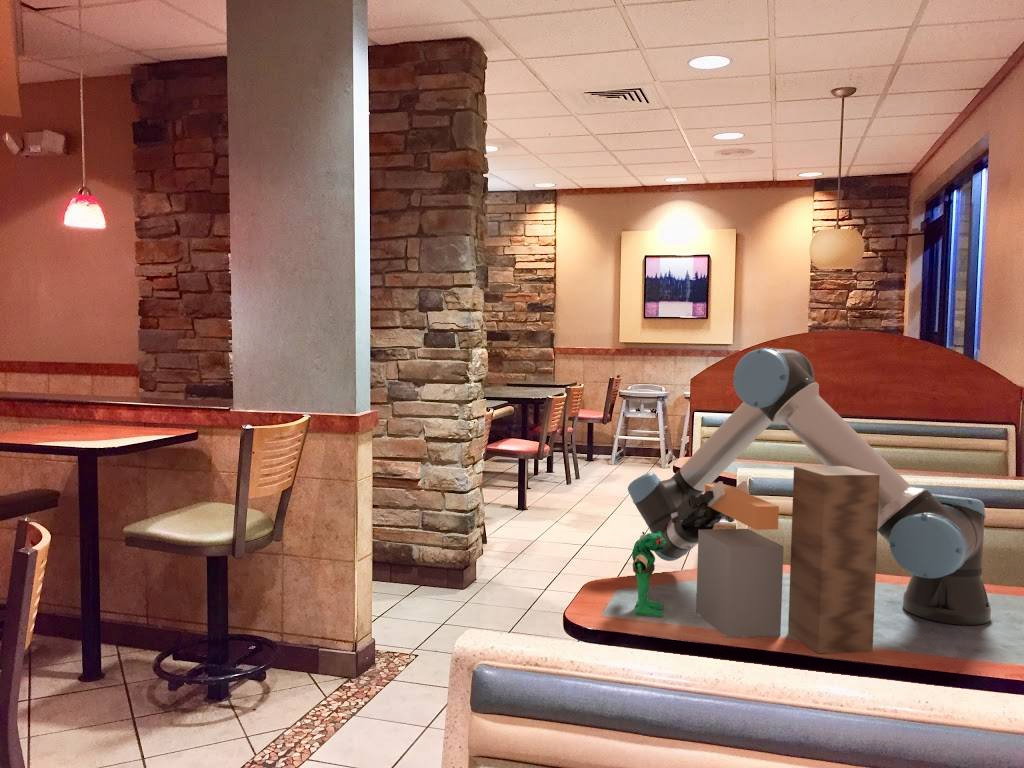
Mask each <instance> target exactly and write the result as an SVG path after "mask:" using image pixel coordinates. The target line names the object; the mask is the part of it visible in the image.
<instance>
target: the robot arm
mask: <svg viewBox="0 0 1024 768" xmlns="http://www.w3.org/2000/svg"><path fill="white" fill-rule="evenodd" d="M732 384H733V389H734V391H735V393H736V395H737V397H739V399H740V400H741V401H742V403H741V404H740V405H739V406H738V407H737V408H736V409H735V410H734V412H732V413H731V415H730V416H729V417H728V418H726V420H725V421H724V422H722V424H721V425H720V426H719V427H718V428H717V429H716V430H715V431H714V432H713V433H712V434H711V435H710V436H709V438H707V440H705V442H704V443H703V444H702V445H701V446H700V447H699V448H698V449H697V450H696V451H695V452H694V453H693V454H692V455H691V457H689V459H687V461H685V463H684V464H682V466H681V467H680V469H678V470H676V472H675V473H674V474H673V475H672V476H671V477H670V478H668V479H665V480H661V478H660V477H658V476H657V474H656V473H655V472H652V471H651V472H646V473H644V474H642V475H641V476H638V477H637V478H635V479H633V481H631V482H630V483H629V485H628V486H627V491H628V494H629V495H630V498H631V500H632V503H633V504H634V505H635V507H636V509H637V511H638V512H639V514H640V516H641V517H642V519H643V520H644V522H645V524H646V525H647V527H648V528H649V529H648V530H649V531H650V533H657V532H658V531H660V532H661V533H662V538H663V539H664V540H665V541H666V542H667V543H666V544H665V545H664V546H662V547H663V548H664V550H665V551H664V552H655V551H653V552H654V553H655V554H656V556H657V557H658V558H660V559H661V560H663V561H666V562H674V561H677V560H679V559H680V558H682V557H684V556H685V555H687V554H688V552H690V551H691V550H692V549H693V548H695V547H696V546H698V531H699V530H708V529H714V527H715V525H716V524H719V523H720V522H721V521H722V520H725V521H727V523H733V522H734V521H735V519H733V518H731V517H729V516H727V515H725V514H723V513H721V512H719V511H717V510H715V509H713V508H711V507H712V506H713V505H715V504H716V503H717V502H718V501H719V500H720V499H721V498H722V497H724V496H725V491H724V486H723V484H724V482H723V481H718V482H717V483H714V484H715V485H714V486H713V487H712V488H711V489H710V490H709V491H707V492H705V484H713V482H714V481H715V480H717V478H719V476H720V475H721V474H723V472H724V471H725V470H727V468H728V467H729V466H731V464H732V463H734V462H735V460H736V459H737V458H739V456H740V455H741V454H742V453H744V451H746V449H747V448H748V447H749V446H750V445H752V443H754V441H755V440H756V439H757V438H758V437H759V436H760V435H761V434H763V432H764V431H765V430H766V429H767V428H768V427H769V426H770V425H771V424H772V423H773V424H774V425H783V426H787V428H788V429H789V430H790V431H791V432H792V433H793V434H794V435H795V436H796V437H797V438H798V439H799V440H800V441H801V443H802V444H804V446H806V447H807V448H808V449H809V450H810V451H811V453H812V454H814V456H815V457H816V458H817V459H818V460H820V461H821V463H822V464H823V465H824V466H847V467H851V468H855V469H859V470H863V471H866V472H870V473H874V474H878V475H880V480H879V505H878V530H877V533H879V534H880V535H881V536H882V537H883V539H885V540H886V541H887V543H888V544H889V550H890V552H891V553H890V554H891V555H892V558H893V559H894V560H895V562H896V563H897V564H898V565H899V566H900V567H901V568H902V569H903V570H904V571H906V572H907V573H909V574H911V576H910V579H909V582H908V584H907V587H906V590H905V592H904V593H903V598H902V600H903V601H902V607H903V609H904V610H905V611H906V612H908V613H910V614H912V615H914V616H915V617H916V616H917V617H920V618H922V619H926V620H930V621H932V622H933V621H934V622H938V623H943V624H951V625H959V626H960V625H961V626H962V625H963V626H973V625H975V626H976V625H983V624H987V623H989V622H991V614H992V613H991V612H992V607H991V604H990V603H989V598H988V594H987V590H986V588H985V584H984V581H983V576H982V575H983V559H984V558H983V557H984V556H983V553H984V538H985V534H984V533H985V532H984V531H985V519H986V518H987V515H986V512H985V504H984V502H983V501H982V500H981V499H978V498H971V497H964V496H963V497H962V496H955V495H947V494H937V493H931V492H930V491H929V490H928V489H927V488H923V487H914V486H912V485H911V484H910V483H909V482H908V481H907V480H905V478H903V476H902V475H900V474H899V472H897V470H896V469H894V468H893V466H891V465H890V464H889V463H888V462H887V461H886V460H885V459H884V458H883V457H882V456H881V455H880V454H879V453H878V452H877V450H875V448H873V447H872V446H871V445H870V444H869V443H867V440H865V439H864V438H863V437H862V436H861V435H860V434H859V433H858V432H857V431H856V430H855V429H854V428H852V426H850V424H848V423H847V421H845V420H844V419H843V417H842V416H840V415H839V414H838V413H837V412H836V411H835V409H833V408H832V407H831V405H829V404H828V402H826V401H825V400H824V399H823V398H822V397H821V396H820V393H819V392H820V391H819V390H820V384H819V383H818V382H817V381H816V380H815V369H814V367H813V365H812V362H811V361H810V359H809V358H808V357H806V355H804V354H802V352H800V351H797V350H795V349H790V348H772V347H771V348H770V347H760V348H757V349H754V350H752V351H751V350H750V351H749V352H747V353H746V354H744V355H743V356H742V357H741V358H740V359H739V360H738V362H737V364H736V365H735V368H734V372H733V383H732ZM734 488H735V489H737V490H740V491H742V492H745V493H747V494H750V490H749V486H748V481H747V480H743V481H741V482H740V483H739V484H738V485H737V486H736V487H734ZM707 504H708V506H707Z"/></svg>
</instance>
